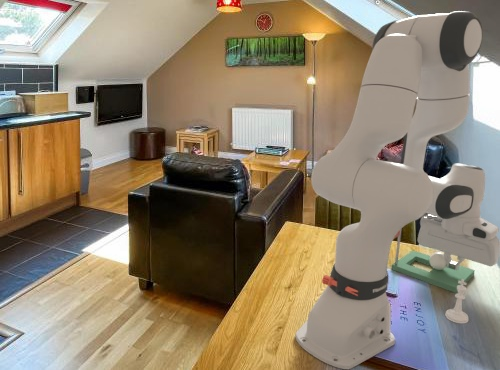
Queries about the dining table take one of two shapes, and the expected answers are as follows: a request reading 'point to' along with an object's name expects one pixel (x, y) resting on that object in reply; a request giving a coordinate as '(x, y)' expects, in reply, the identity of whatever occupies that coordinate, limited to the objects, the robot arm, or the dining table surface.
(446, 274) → the putting mat
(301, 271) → the dining table surface
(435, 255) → the ball
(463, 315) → the chess piece
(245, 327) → the dining table surface
